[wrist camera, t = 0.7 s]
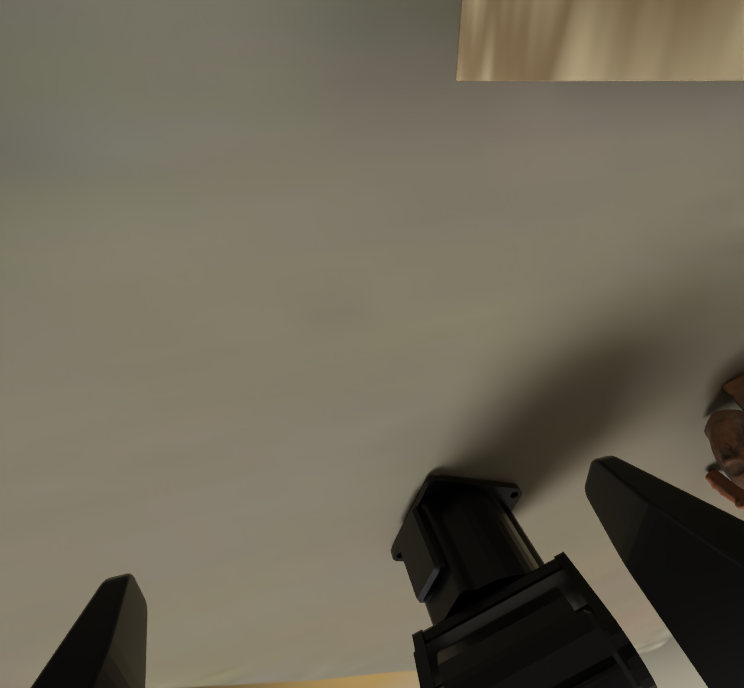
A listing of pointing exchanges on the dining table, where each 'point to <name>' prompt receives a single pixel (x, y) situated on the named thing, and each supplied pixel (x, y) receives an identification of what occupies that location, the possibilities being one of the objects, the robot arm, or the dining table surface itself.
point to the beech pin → (601, 40)
